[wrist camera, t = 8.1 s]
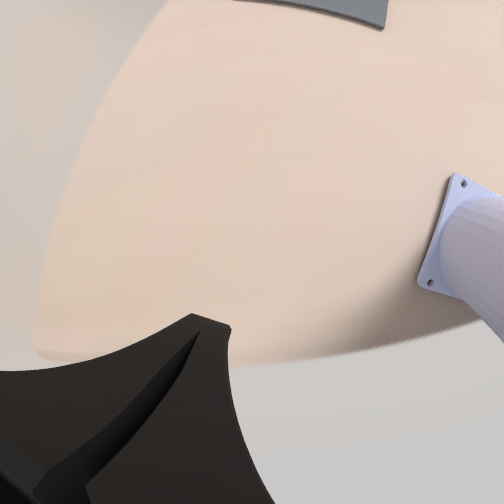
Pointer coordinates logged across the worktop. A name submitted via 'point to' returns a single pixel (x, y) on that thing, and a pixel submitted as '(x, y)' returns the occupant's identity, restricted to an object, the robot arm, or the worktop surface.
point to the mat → (350, 9)
